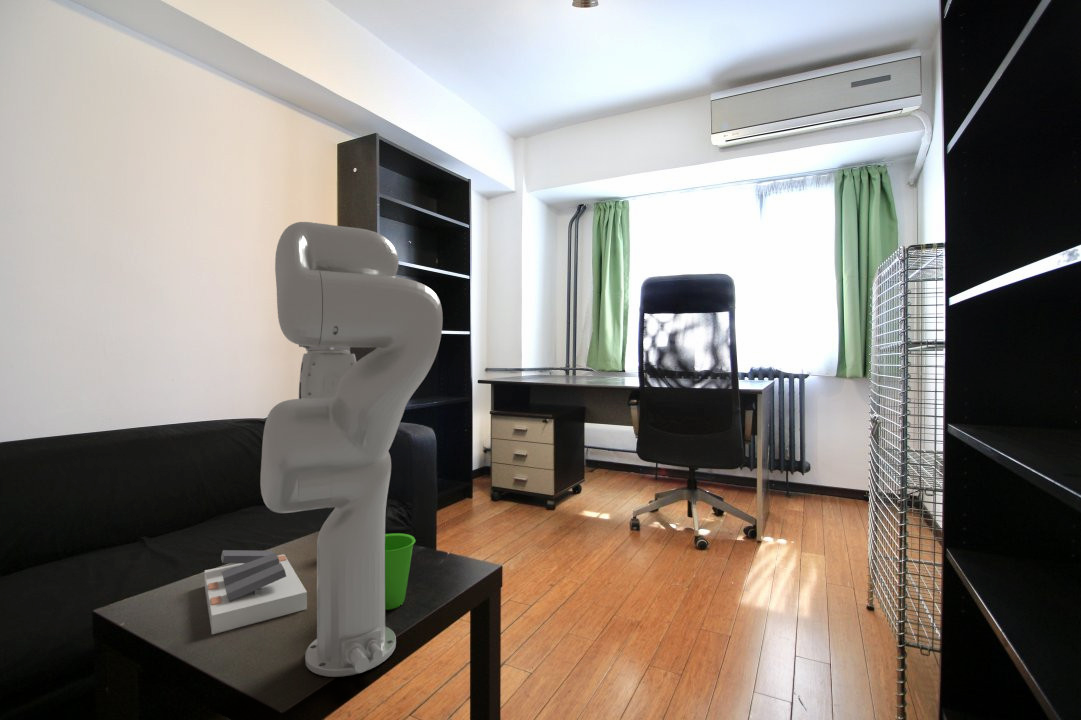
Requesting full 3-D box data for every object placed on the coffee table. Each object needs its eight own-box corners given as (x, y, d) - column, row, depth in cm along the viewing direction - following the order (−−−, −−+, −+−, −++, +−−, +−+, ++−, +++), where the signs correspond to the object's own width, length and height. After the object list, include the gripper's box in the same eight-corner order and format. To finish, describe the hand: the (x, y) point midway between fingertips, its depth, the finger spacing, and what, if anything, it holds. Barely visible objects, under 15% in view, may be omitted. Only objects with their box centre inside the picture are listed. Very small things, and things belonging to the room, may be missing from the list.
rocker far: (273, 563, 102) (275, 555, 102) (222, 563, 96) (224, 555, 97) (271, 557, 104) (272, 550, 105) (220, 557, 99) (222, 550, 100)
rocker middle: (279, 565, 96) (278, 558, 96) (224, 585, 91) (223, 578, 91) (276, 559, 99) (275, 552, 99) (223, 579, 94) (221, 571, 93)
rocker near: (286, 576, 90) (284, 569, 90) (228, 601, 85) (226, 594, 85) (282, 569, 93) (280, 562, 93) (226, 594, 88) (224, 586, 88)
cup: (426, 599, 92) (426, 538, 92) (387, 620, 85) (386, 554, 85) (392, 587, 97) (392, 530, 97) (352, 607, 89) (352, 544, 90)
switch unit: (306, 609, 89) (306, 587, 89) (211, 634, 81) (211, 611, 81) (284, 568, 107) (284, 550, 107) (204, 586, 98) (204, 566, 98)
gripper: (289, 344, 88) (290, 450, 88) (375, 346, 97) (375, 442, 97) (281, 347, 94) (281, 446, 94) (362, 348, 103) (363, 438, 103)
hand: (329, 443), depth 95 cm, fingers closed
